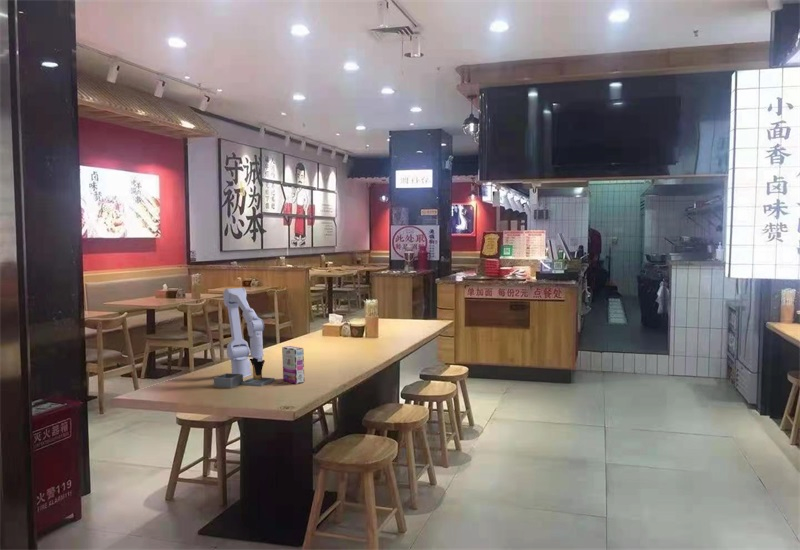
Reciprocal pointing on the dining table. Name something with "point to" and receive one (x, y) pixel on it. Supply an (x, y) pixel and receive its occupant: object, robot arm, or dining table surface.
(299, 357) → the candy bar box
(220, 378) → the grey square box
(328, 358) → the dining table surface
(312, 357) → the dining table surface
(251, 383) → the tray
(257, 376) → the dowel
